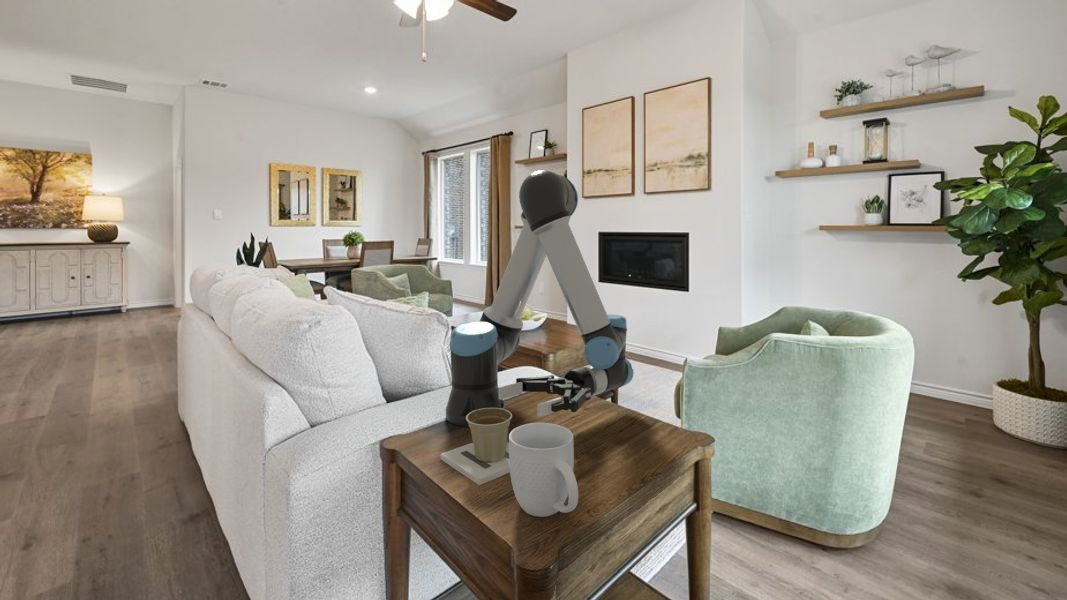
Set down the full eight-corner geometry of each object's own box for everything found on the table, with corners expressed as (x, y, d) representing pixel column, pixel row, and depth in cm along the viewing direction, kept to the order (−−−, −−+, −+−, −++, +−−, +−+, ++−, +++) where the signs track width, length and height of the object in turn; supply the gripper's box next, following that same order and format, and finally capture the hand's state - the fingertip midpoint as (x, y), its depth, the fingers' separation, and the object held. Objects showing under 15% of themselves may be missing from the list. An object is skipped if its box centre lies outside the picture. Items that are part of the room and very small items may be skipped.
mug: (601, 522, 80) (602, 447, 78) (546, 547, 74) (546, 465, 72) (548, 483, 92) (548, 417, 90) (497, 501, 86) (496, 431, 84)
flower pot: (458, 462, 98) (457, 421, 97) (480, 442, 107) (479, 405, 105) (500, 470, 94) (500, 427, 93) (519, 449, 103) (519, 410, 102)
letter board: (440, 459, 102) (440, 453, 102) (494, 439, 111) (494, 434, 111) (478, 485, 91) (478, 479, 91) (535, 461, 100) (535, 456, 100)
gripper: (623, 411, 112) (556, 436, 99) (550, 384, 131) (485, 402, 117) (624, 379, 111) (557, 401, 97) (550, 357, 130) (485, 372, 116)
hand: (517, 401), depth 107 cm, fingers open, 13 cm apart
